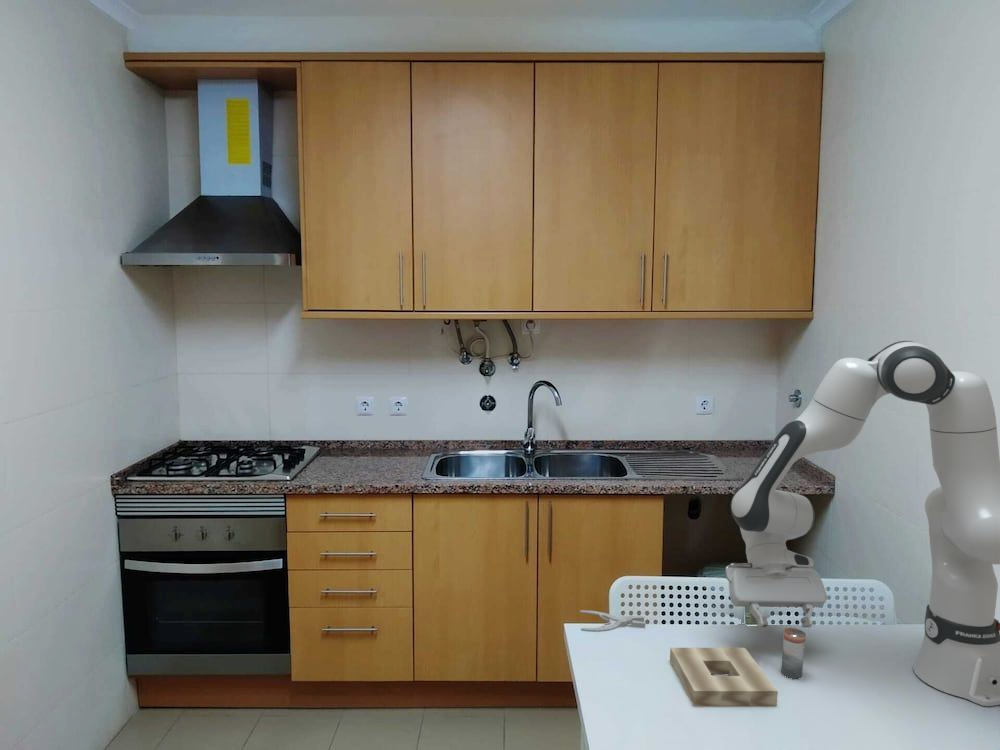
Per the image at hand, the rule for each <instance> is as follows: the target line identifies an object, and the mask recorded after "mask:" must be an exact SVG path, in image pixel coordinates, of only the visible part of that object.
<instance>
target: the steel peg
mask: <svg viewBox="0 0 1000 750" xmlns="http://www.w3.org/2000/svg"><path fill="white" fill-rule="evenodd" d="M782 641H783V642H782V657H781V669H780V674H781V673H782V674H783V675H784V676H783V675H782V674H781V675H782V676H783V677H785V676H786V677H785V678H787V677H788V678H787V679H789V678H792V679H791V680H794V679H798V680H800V679H799V678H801V677H803V668H804V658H805V657H804V656H805V644H806V632H804V631H803V630H801V629H799V628H793V627H787V628H785V629H784V630H783V640H782ZM801 679H802V678H801Z"/></svg>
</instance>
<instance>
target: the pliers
mask: <svg viewBox="0 0 1000 750" xmlns="http://www.w3.org/2000/svg"><path fill="white" fill-rule="evenodd" d="M579 614H587V615H594V616H598V617H599V618H601V619H602V620H603V621H606V622H605V623H604V624H602V625H601V626H600V627H581V628H580V631H584V632H591V633H592V632H593V633H594V632H597V633H599V632H610V631H612V630H616V629H619V628H624V627H629V628H637V629H646V622H645V616H644V615H643V616H642V615H624V616H622V618H620V617H617V616H615V615H612V614H609V613H606V612H603V611H596V610H583V609H582V610H579ZM611 621H614V623H613V624H611ZM603 625H606V626H603Z"/></svg>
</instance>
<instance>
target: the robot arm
mask: <svg viewBox="0 0 1000 750" xmlns="http://www.w3.org/2000/svg"><path fill="white" fill-rule="evenodd" d="M889 394H891V395H893V396H894V397H896V398H898V399H901V400H904V401H907V402H914V403H920V404H925V406H926V408H927V412H928V420H929V421H928V423H929V435H930V446H931V456H932V465H933V469H934V471H935V473H936V475H937V478H938V481H939V484H940V486H938V487H936V488H935V489H933V490H932V491H931V492H930V493H928V495H927V497H926V499H925V502H924V503H925V504H924V510H925V514H926V517H927V518H926V519H927V522H928V535H929V546H930V557H931V582H930V583H931V584H930V593H929V594H930V595H929V604H927V605H926V609H925V614H924V615H925V616H924V636H923V640H922V644H921V648H920V650H919V653H918V655H917V658H916V660H915V662H914V664H913V667H912V670H913V672H914V674H915V675H916V676H917V677H918V679H920V680H921V681H923V682H924V683H925V684H928V685H929V686H931V687H932V688H934V689H936V690H939V691H941V692H943V693H946V694H949V695H951V696H952V695H953V696H956V697H958V698H959V697H960V698H962V699H966V700H969V701H970V702H973V703H975V704H977V705H980V706H984V707H993V706H994V707H995V706H1000V622H999V620H998V619H996V618H995V617H996V616H995V615H996V606H997V598H998V597H997V596H998V591H999V589H998V588H999V586H998V583H999V582H998V579H997V576H996V574H995V570H994V569H995V568H994V566H993V565H1000V449H999V447H1000V446H999V438H998V427H997V426H998V425H997V416H996V412H995V410H996V409H995V406H994V401H993V398H992V395H991V391H990V388H989V384H988V382H987V381H986V380H985V378H983V376H981V375H979V374H977V373H974V372H971V371H966V370H953V371H952V370H950V369H949V367H948V366H947V364H945V363H944V361H943V360H942V359H941V358H940V356H939V355H938V354H936V352H935V351H933V349H932V348H930V347H929V346H927V345H926V344H923V343H920V342H917V341H913V340H900V341H897V342H893V343H891V344H889V345H887V346H885V347H884V348H882V349H881V350H880V351H878V352H877V353H875V354H873V355H872V356H871V357H869V358H868V359H867V360H866V359H863V358H857V357H844V358H840V359H838V360H837V361H836V362H834V363H833V365H832V366H831V368H830V369H829V370H828V371H827V373H826V374H825V375H824V377H823V379H822V381H821V382H820V384H819V386H818V387H817V388H816V391H815V393H814V395H813V396H812V398H811V400H810V402H809V403H808V406H806V408H805V410H803V412H802V413H801V414H800V415H798V417H797V418H795V419H794V420H793V421H791V422H788V423H787V424H785V425H784V427H782V428H781V430H780V431H779V432H778V434H777V435H776V436H775V438H774V439H773V440H772V442H771V444H770V445H769V447H768V448H767V450H766V451H765V453H764V454H763V456H762V457H761V459H760V460H759V462H758V463H757V465H756V466H755V468H754V469H753V470H752V472H751V473H750V475H749V477H748V478H746V480H745V481H744V482H743V483H742V484H741V485H740V486H739V487H738V488H737V489H736V491H735V492H734V494H733V496H732V497H731V500H730V512H731V515H732V517H733V519H734V521H735V522H736V524H737V525H738V526H739V529H740V534H741V537H742V540H743V541H744V543H745V554H746V555H745V556H746V559H747V562H743V563H737V562H732V563H729V565H727V566H726V567H725V569H724V572H725V576H726V577H725V578H726V580H727V581H728V590H729V591H728V592H729V599H730V602H731V604H732V605H734V607H746V608H747V607H748V610H749V612H750V614H751V615H752V616H753V617H754V619H756V621H757V625H758V627H759V628H767V626H769V621H768V617H767V616H765V615H764V616H763V614H762V613H761V612H760V610H759V608H760V607H762V608H765V607H766V608H768V607H769V608H772V607H773V608H801V609H802V611H803V612H804V613H805V614H804V616H803V617H802V618H801V619H800V623H801V627H802V628H811V627H813V622H812V619H811V617H812V614H813V610H814V608H820V607H823V605H824V604H825V603H827V599H828V595H827V592H826V589H825V585H824V583H823V581H822V578H821V576H820V574H819V573H818V571H817V570H815V569H814V568H813V567H814V565H815V563H814V559H813V558H812V557H811V556H807V555H803V554H799V553H797V552H794V551H791V550H790V549H788V547H787V545H786V542H787V541H790V540H795V539H798V538H799V539H800V538H801V537H803V536H805V535H806V534H808V533H810V531H811V529H812V528H813V526H814V524H815V517H816V515H815V509H814V505H813V504H812V502H811V501H810V499H809V498H808V497H806V496H805V495H803V494H798V493H795V492H790V491H787V490H781V489H780V490H779V489H777V488H778V486H780V484H781V482H782V480H783V479H784V478H785V476H786V474H788V472H789V470H790V469H791V467H792V466H793V464H795V462H797V461H799V460H800V459H802V458H803V457H806V456H808V455H812V454H815V453H816V454H817V453H821V452H827V451H828V452H829V451H835V450H839V449H843V448H844V447H846V446H849V445H850V444H852V443H853V442H854V440H855V439H856V438H857V437H858V435H859V434H860V432H861V431H862V430H863V427H864V425H865V423H866V420H867V419H868V417H869V415H870V413H871V411H872V408H873V407H874V406H875V404H876V403H877V402H878V401H879V400H880V399H882V397H884V396H886V395H889Z"/></svg>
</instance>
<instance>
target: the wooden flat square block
mask: <svg viewBox="0 0 1000 750" xmlns="http://www.w3.org/2000/svg"><path fill="white" fill-rule="evenodd" d="M669 650H670V651H669V652H670V653H669V662H671V663H670V664H671V667H672V668H673V670H674V671H675V673H676V676H677V677H678V680H679V682H680V683H681V685H682V687H683V689H684V690H685V693H686V694H687V696H688V699H689V700H690V702H691V704H692V705H693V707H777V705H778V693H779V690H777V688H776V686H774V683H772V681H770V679H769V678H768V676H767V675H766V673H765V672H764V671H763V669H762V668H761V667H760V666H759V664H758V663H757V662H756V661H755V659H754V658H753V656H752V655H751V653H749V651H748V650H747V648H745V647H670V649H669ZM711 674H713V675H711ZM714 674H718V675H714ZM721 674H723V675H721ZM724 674H729V675H730V676H729V675H724Z"/></svg>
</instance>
